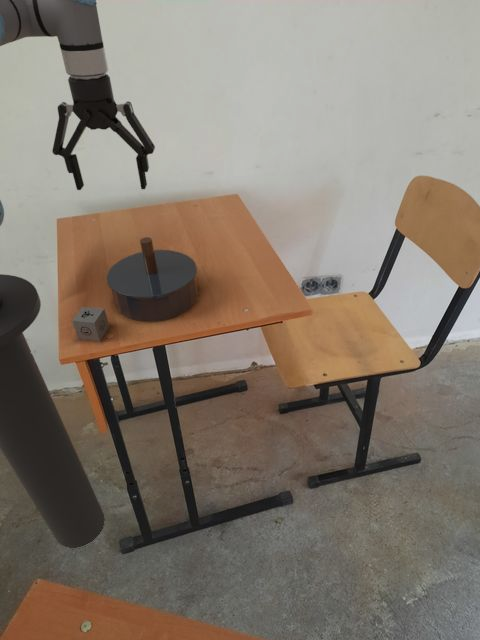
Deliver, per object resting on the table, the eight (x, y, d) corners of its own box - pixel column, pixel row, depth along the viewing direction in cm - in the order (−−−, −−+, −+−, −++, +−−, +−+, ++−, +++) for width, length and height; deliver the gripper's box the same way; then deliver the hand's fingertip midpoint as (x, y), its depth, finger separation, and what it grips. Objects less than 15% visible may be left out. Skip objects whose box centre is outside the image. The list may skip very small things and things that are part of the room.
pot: (107, 323, 106) (100, 299, 101) (123, 276, 120) (118, 254, 116) (194, 320, 106) (191, 296, 102) (200, 274, 121) (197, 251, 116)
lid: (98, 303, 101) (87, 265, 95) (117, 255, 117) (108, 220, 111) (193, 299, 102) (188, 262, 96) (199, 252, 117) (195, 217, 111)
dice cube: (88, 325, 105) (82, 306, 102) (109, 327, 105) (104, 308, 101) (78, 339, 101) (71, 320, 98) (99, 341, 101) (94, 322, 98)
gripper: (158, 70, 91) (172, 179, 104) (27, 71, 90) (59, 181, 104) (152, 78, 85) (168, 193, 99) (12, 79, 84) (48, 195, 98)
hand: (112, 187), depth 101 cm, fingers open, 13 cm apart
